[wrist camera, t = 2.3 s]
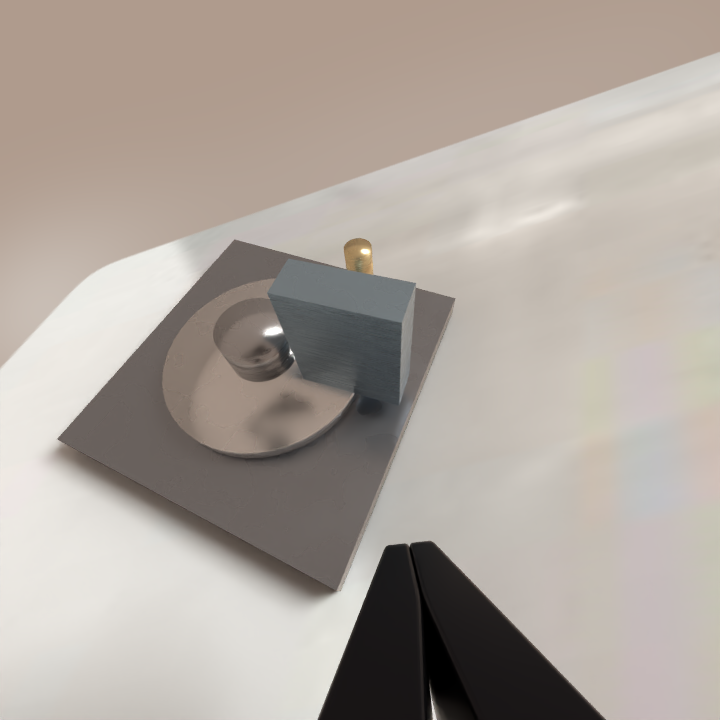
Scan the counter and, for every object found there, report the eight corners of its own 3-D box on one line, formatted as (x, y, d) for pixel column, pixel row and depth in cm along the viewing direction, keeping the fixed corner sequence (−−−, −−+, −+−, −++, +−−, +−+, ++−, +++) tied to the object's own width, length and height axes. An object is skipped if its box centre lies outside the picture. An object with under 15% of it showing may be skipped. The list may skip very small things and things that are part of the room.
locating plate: (340, 590, 17) (319, 591, 12) (76, 447, 22) (-17, 405, 17) (452, 312, 26) (466, 244, 20) (241, 254, 31) (210, 187, 25)
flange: (129, 421, 21) (3, 340, 14) (233, 274, 27) (179, 167, 20) (370, 506, 17) (355, 453, 11) (429, 316, 23) (444, 204, 16)
